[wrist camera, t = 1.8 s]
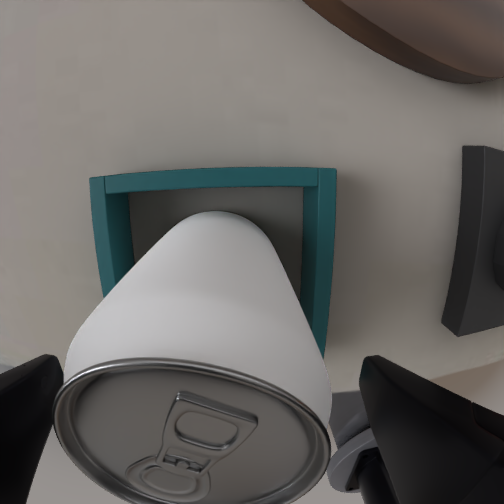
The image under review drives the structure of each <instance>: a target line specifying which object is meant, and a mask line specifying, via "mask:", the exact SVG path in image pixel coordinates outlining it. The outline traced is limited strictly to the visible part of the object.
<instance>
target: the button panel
mask: <svg viewBox="0 0 504 504" xmlns="http://www.w3.org/2000/svg"><path fill="white" fill-rule="evenodd" d="M462 153H463V158H462V191H461V206H460V218H459V227H458V236H457V244H456V251H455V258H454V264H453V270H452V275H451V281H450V286H449V291H448V296H447V300H446V305H445V309H444V313H443V317H442V321H441V323H442V324H443V325H445V326H446V327H447V328H448V329H449V330H450V331H451V332H453V333H454V334H455V335H456V336H457V337H460V336H464V335H468V334H472V333H476V332H480V331H484V330H488V329H491V328H495V327H498V326H502V325H504V151H501V150H498V149H494V148H491V147H487V146H463V147H462Z"/></svg>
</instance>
